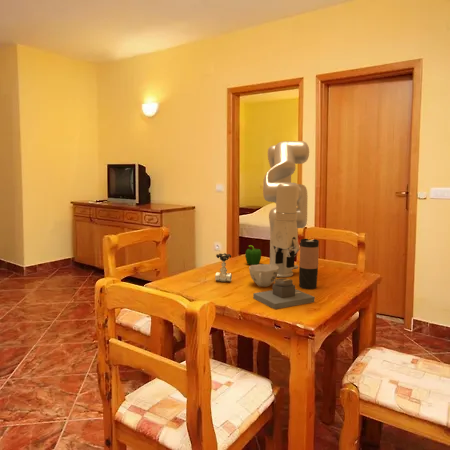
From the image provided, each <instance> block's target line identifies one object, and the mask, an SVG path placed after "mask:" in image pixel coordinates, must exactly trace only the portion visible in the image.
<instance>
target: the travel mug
mask: <svg viewBox="0 0 450 450" xmlns="http://www.w3.org/2000/svg"><path fill="white" fill-rule="evenodd" d="M299 244H300V246H299V248H300V250H299V263H298V264H299V265H298V269H299V270H298V271H299V273H298V275H299V281H298V282H299V283H298V284H299V285H298V286H299V288H301V289H303V290H315V289H317V287H318V286H317V285H318V275H319V274H318V273H319V249H320V248H319V246H320V245H319V244H320V241H319V240H318V239H316V238H314V239H311V240H310V239H308V238H302V239H300V243H299Z"/></svg>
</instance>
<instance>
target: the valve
mask: <svg viewBox="0 0 450 450" xmlns="http://www.w3.org/2000/svg"><path fill="white" fill-rule="evenodd" d="M215 255H216V256H215V257H216V258H217V259H219V261H222V262H221V268H220V269H219V271H220V272H218V271H217V272H216V273H215V281H216V282H221V283H222V282H223V283H225V282H230V283H231V282H232V273H231V272H228V268H226V267H227V261H228V260H229V259H231V258H232V255H231V253H226V252H225V253H216V254H215Z"/></svg>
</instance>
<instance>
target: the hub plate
mask: <svg viewBox="0 0 450 450" xmlns="http://www.w3.org/2000/svg"><path fill="white" fill-rule="evenodd" d="M272 292H273V289H272V290H266V291H260V292H254V293H253V299H254V300H256V301H258V302H260V303H261V304H264V305H266V306H267V307H269V308H271V309H273V310H278V309H285V308H290V307H295V306H299V305H301V306H302V305H306V304H311V303H315V296H314V295H312V294H308V293H307V292H304V291H302V290H298V289H296V288H295V296H291V297H286V298H280V297H278V296H276V295H274V294H272Z"/></svg>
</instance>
